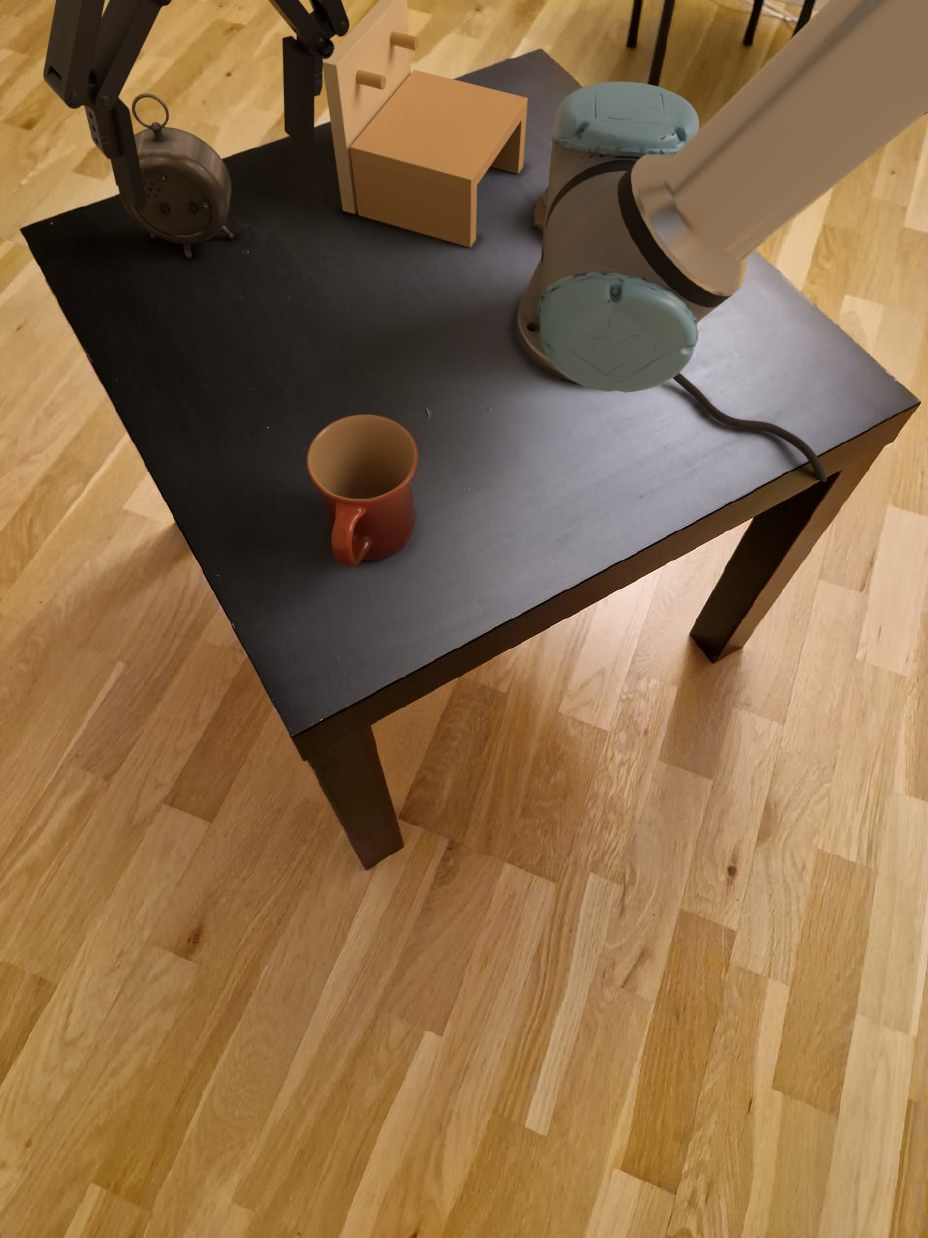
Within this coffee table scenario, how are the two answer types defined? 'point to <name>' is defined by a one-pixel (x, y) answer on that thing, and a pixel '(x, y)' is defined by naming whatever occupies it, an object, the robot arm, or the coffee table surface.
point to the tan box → (414, 131)
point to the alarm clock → (179, 184)
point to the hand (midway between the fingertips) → (219, 166)
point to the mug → (365, 485)
